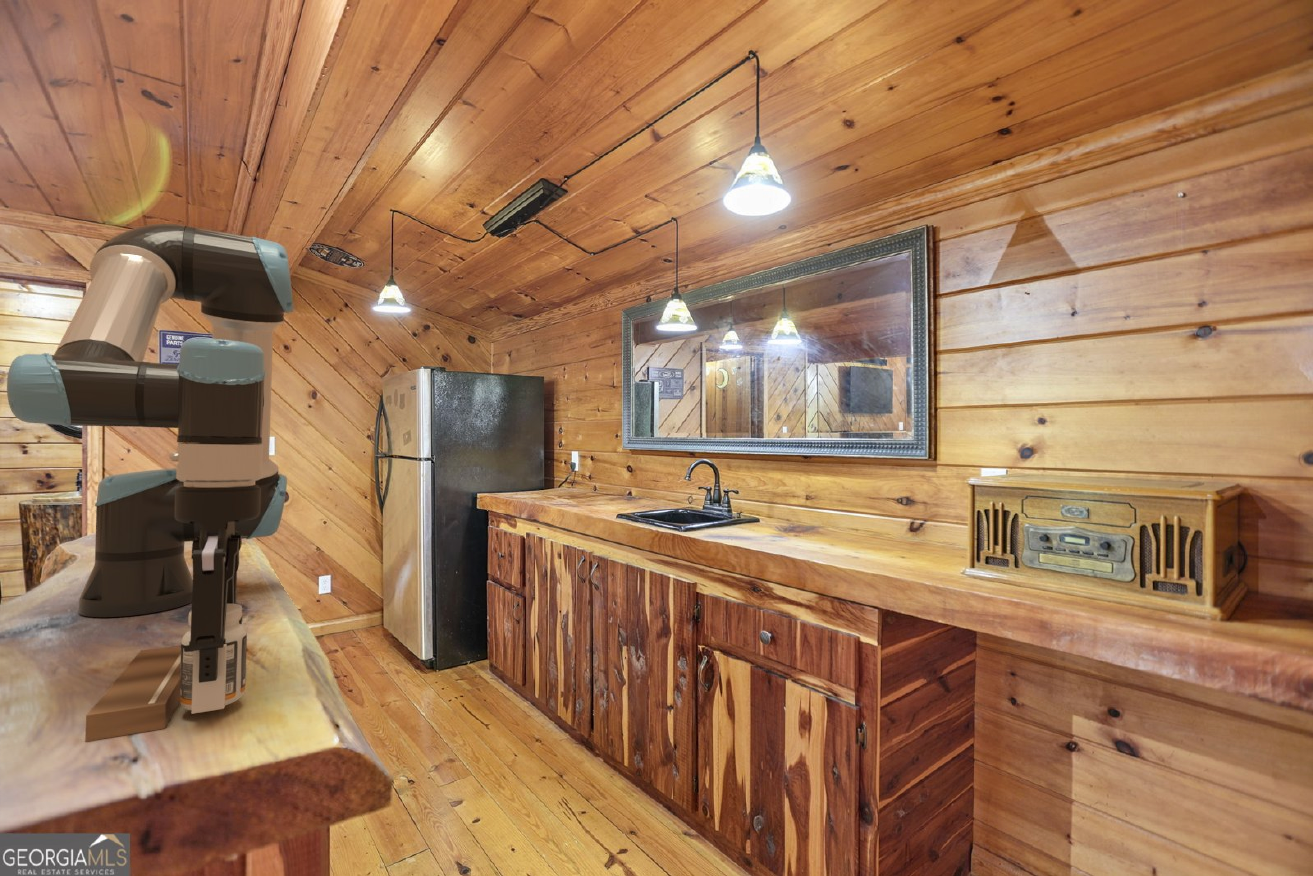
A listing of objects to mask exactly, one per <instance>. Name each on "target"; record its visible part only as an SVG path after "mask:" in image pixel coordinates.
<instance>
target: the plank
mask: <svg viewBox="0 0 1313 876" xmlns="http://www.w3.org/2000/svg"><path fill="white" fill-rule="evenodd" d="M180 667H181V645H177V646H169V647H159V648H149V649H142V650H140V651H139V652H138V653H137V654H136V656H135V657H134V658H133V659H132V660H131V661H130V663H129V664H128V665H127V666H126V668H125V669H124V670H123V671H122V673H120V675H119V676H118V677H117V678H116V679H115V681H114V682H113V683H112V684H111V686H110V687H109V688H108V689H107V690H106V691H105V693H103V695H102V696H101V697H100V699H99V700H98V701H97V702H96V703H95V704H94V706H93V707H92V708H91V709H90V710H89V712H88V713H87V714H86V715H85V735H84V736H85V737H84V738H85V739H84V740H85V743H86V742H87V743H88V742H91V741H97V740H98V739H99V740H102V739H104V738H105V739H109V738H110V739H111V738H115V737H121V736H127V735H133V734H140V733H146V732H152V731H159V730H164V729H166V728H167V725H168V723H169V721H170V720H171V717H172V716H173V714H174V712H175V710H176V708H177V707H178V704H179V703H180Z"/></svg>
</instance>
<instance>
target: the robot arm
mask: <svg viewBox="0 0 1313 876" xmlns="http://www.w3.org/2000/svg"><path fill="white" fill-rule="evenodd" d="M290 273H291V272H290V264H289V257H288V251H287V250H286V248H285V247H284V246H283V245H282V244H280V243H278V242H275V241H271V240H267V239H263V238H258V237H256V236H248V235H242V234H236V233H230V232H221V231H217V230H210V229H205V228H198V227H192V226H187V225H184V224H176V223H157V224H156V223H155V224H149V225H144V226H143V225H142V226H139V227H136V228H133V229H129V230H126V231H124V232H122V233H119V234H118V235H115V236H114V237H112V238H110V239H109V240H107V241H106V242H104V244H102V245H101V246H100V247H99V248H98V249H97V251H96V253H95V254H94V255H93V257H92V259H91V262H90V265H89V274H90V278H91V282H90V285H89V286H88V288H87V289H86V292H85V294H84V296H83V298H82V300H81V302H80V304H79V306H78V307H77V309H76V311H75V313H74V315H73V317H72V319H71V321H70V323H69V324H68V327H67V329H66V331H65V332H64V335H63V336H62V338H61V340H60V342H59V344H58V346H57V348H56V349H55V352H54V353H53V354H50V353H49V352H48V353H46V352H44V353H41V354H39V353H37V354H35V353H34V354H33V353H32V354H31V353H25V354H23V355H18V356H16V357H15V358H14V359H13V360H12V362H11V364H10V366H9V368H8V372H7V379H6V394H7V395H6V396H7V401H8V405H9V408H10V411H11V412H12V414H13V415H14V417H16V418H17V419H18V420H20V421H22V422H23V423H28V424H44V425H47V424H48V425H57V426H59V425H60V426H63V427H71V426H73V427H77V426H78V427H79V426H80V427H134V428H135V427H136V428H138V427H143V428H169V429H171V428H172V429H177V437H176V443H177V447H176V448H177V451H174V452H170V455H169V461H171V462H178V463H177V464H176V467H175V468H162V469H153V470H143V471H135V472H126V473H118V474H113V475H108V476H106V477H104V478H103V479H101V481H100V482H99V483H98V487H97V495H96V502H95V503H94V507H95V508H96V510H95V511H96V513H95V514H96V515H95V518H96V519H95V547H94V549H95V553H94V554H95V555H94V565H93V567H92V570H91V572H90V574H89V576H88V579H87V581H86V584H85V586H84V588H83V590H82V592H81V595H80V597H79V600H78V614H79V615H81V616H84V617H91V618H118V617H131V616H139V615H146V614H152V613H158V612H163V611H168V610H172V609H176V608H180V607H183V606H186V605H189V604H191V611H192V614H191V627H190V630H191V640H190V642H189V645H187V646H184V652H189V651H193V679H192V710H191V711H190V712H191V714H193V715H194V714H197V713H198V714H199V713H205V712H211V711H217V710H219V711H220V710H224V709H225V706H226V705H225V687H226V653H227V644H225V642H226V639H225V638H224V637H225V622H226V607H227V604H237V600H238V599H237V597H238V596H237V595H238V594H237V593H238V592H237V591H238V590H237V589H238V571H239V567H240V566H239V565H240V551H241V547H242V545H243V539H244V540H245V539H246V540H251V539H254V538H264V537H265V538H266V537H271V536H273V535H274V534H275V533H276V532H277V531H278V529H279V528H280V524H281V521H282V518H283V517H282V516H283V511H284V506H285V500H286V492H287V486H288V478H287V476H286V475H283V474H281V473H279V466H278V464H277V463H275V462H274V461H273V460H271V458H270V439H271V438H270V437H271V411H272V410H271V409H272V407H271V406H272V382H273V381H272V377H273V376H272V374H273V344H274V343H273V341H274V331H275V330H276V329H277V328H278V327H279V326H282V324H283V323H284V321H285V320H284V318H285V315H284V314H290V313H291V314H292V313H293V312H294V301H293V291H292V289H293V288H292V282H291V281H292V280H291V274H290ZM169 299H176V300H185V301H189V302H190V301H191V302H196V303H197V302H198V303H200V305H201V306H200V313H201V315H202V316H203V317H204V318H205V319H206V320H208V322H209V323H210V324H211V325H212V328H211V329H212V330H211V331H212V334H211V335H212V337H211V338H205V337H203V338H196V337H195V338H190V339H187V340H184V341H183V343H182V344H181V345H180V351H179V352H180V353H179V363H178V364H176V363H162V362H161V363H160V362H149V361H144V359H145V355H146V353H147V350H148V347H149V343H150V340H151V337H152V335H153V330H154V327H155V325H156V321H157V317H158V315H159V312H160V308H161V305H162V304H164V303H166V302H167V301H169ZM185 542H192V543H191V545H192V546H191V560H192V575H191V572H190V570H189V567H188V564H187V562H186V559H185ZM242 623H243V616H242V617H241V619H240V620H239V624H241V625H242Z"/></svg>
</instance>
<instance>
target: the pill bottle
mask: <svg viewBox="0 0 1313 876" xmlns="http://www.w3.org/2000/svg"><path fill="white" fill-rule="evenodd" d="M191 614H192V610H190V611H189V613H188V622H187V623H188V626H189V627H190V628H191ZM241 617H242V618H243V607H242V605H241V604H237V603H236V604H227V607H226V622H225V637H224V638H225V639H226V642H225V644H227V653H226V687H225V706H228V705H230V704H233V703H235V702H236V701H238V700H240V698H242V696H244V694H245V692H246V683H247V682H246V680H247V679H246V678H247V675H246V674H247V673H246V672H247V649H248V648H247V647H248V645H247V643H248V633H247V632H248V631H247V629H246V627H245V626H244V625H242V624H239V620H240V619H241ZM190 640H191V629H190V630H188V631H187V632H186V633H185V634H184V635H183V636H182V638H181V643H180V646H181V667H180V701H179V703H180V706H181V707H182V708H183V709H185V710H187V711H188V710H189V711H192V679H193V651H189V652H184V646H187V645H189V642H190Z"/></svg>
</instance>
